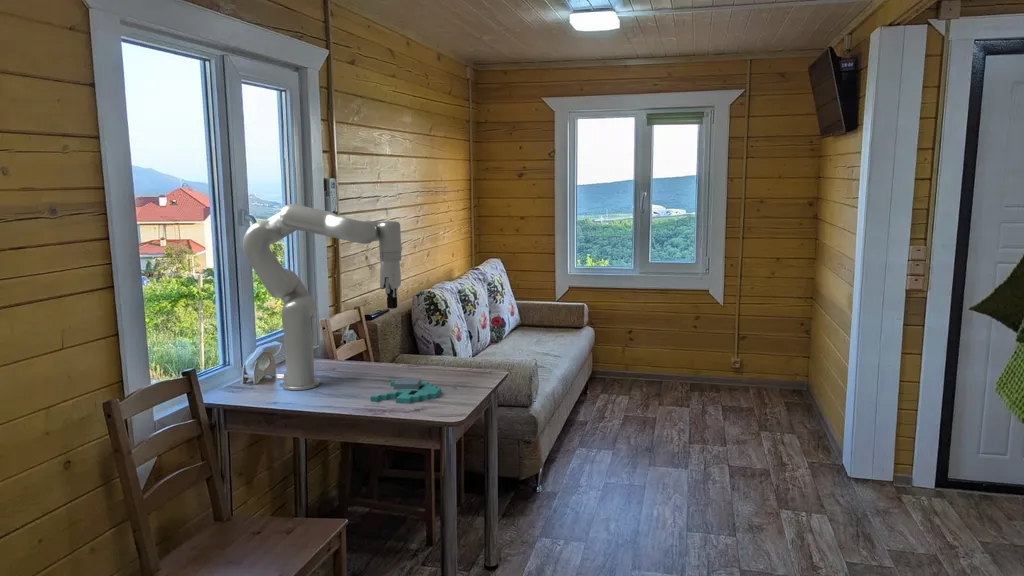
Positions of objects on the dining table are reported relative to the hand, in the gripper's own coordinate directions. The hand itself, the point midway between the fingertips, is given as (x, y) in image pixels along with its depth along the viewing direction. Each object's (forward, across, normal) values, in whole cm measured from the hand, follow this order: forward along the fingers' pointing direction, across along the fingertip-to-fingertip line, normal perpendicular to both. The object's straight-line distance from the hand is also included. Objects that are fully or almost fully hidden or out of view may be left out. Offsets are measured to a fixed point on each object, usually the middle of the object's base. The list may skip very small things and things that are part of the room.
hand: (392, 308), depth 246 cm
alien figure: (+28, +14, +10) cm, 33 cm away
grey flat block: (+24, +10, +12) cm, 29 cm away
